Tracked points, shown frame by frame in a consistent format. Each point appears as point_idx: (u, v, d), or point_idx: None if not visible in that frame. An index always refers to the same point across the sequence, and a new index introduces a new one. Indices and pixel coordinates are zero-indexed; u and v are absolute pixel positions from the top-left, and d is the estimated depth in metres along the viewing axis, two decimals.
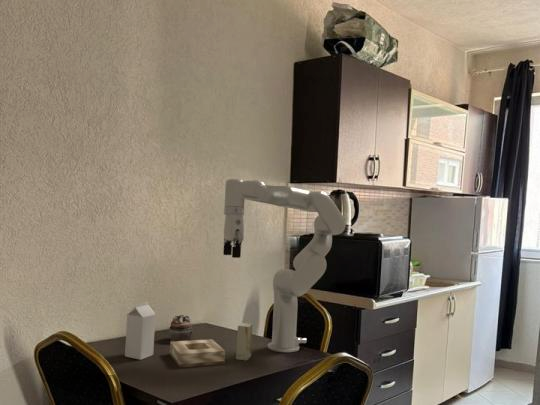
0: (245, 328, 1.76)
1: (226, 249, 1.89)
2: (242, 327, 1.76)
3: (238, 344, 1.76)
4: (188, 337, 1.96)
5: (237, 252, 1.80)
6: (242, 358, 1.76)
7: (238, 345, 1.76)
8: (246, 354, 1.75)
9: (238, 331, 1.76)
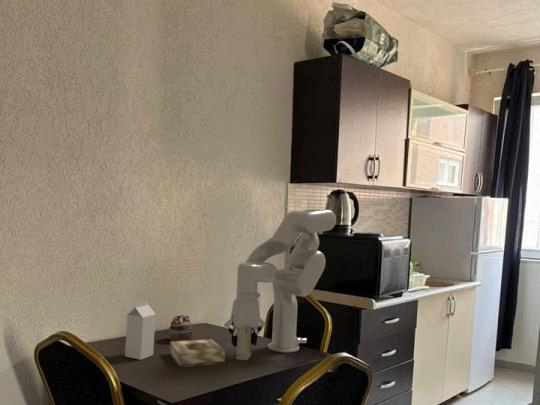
0: (245, 328, 1.76)
1: None
2: (242, 327, 1.76)
3: (238, 344, 1.76)
4: (188, 337, 1.96)
5: None
6: (242, 358, 1.76)
7: (238, 345, 1.76)
8: (246, 354, 1.75)
9: (238, 331, 1.76)
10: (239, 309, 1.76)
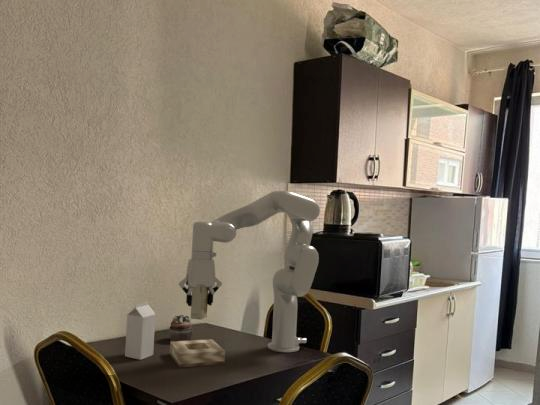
0: (200, 287, 1.72)
1: None
2: (197, 286, 1.73)
3: (193, 303, 1.73)
4: (188, 337, 1.96)
5: None
6: (197, 317, 1.72)
7: (193, 304, 1.72)
8: (201, 313, 1.72)
9: (193, 290, 1.73)
10: (193, 268, 1.72)
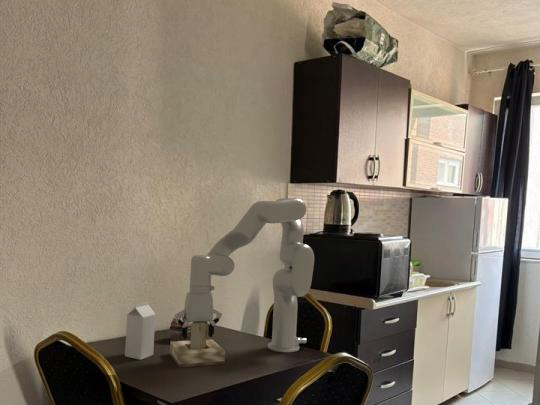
0: (199, 325, 1.72)
1: None
2: (196, 324, 1.72)
3: (192, 342, 1.72)
4: (188, 337, 1.96)
5: None
6: None
7: (192, 343, 1.72)
8: None
9: (192, 328, 1.73)
10: (191, 302, 1.72)
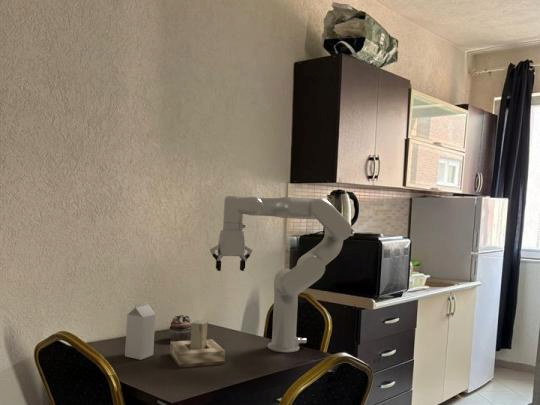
0: (199, 325, 1.72)
1: None
2: (196, 324, 1.72)
3: (192, 342, 1.72)
4: (188, 337, 1.96)
5: None
6: None
7: (192, 343, 1.72)
8: None
9: (192, 328, 1.73)
10: (225, 237, 1.88)
